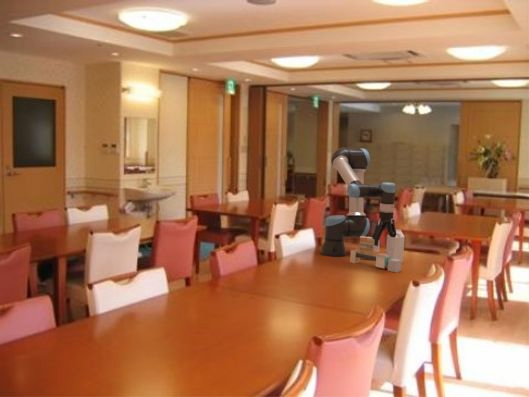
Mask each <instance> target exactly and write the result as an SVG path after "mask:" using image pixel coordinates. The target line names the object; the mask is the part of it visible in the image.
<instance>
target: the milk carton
mask: <svg viewBox="0 0 529 397" xmlns="http://www.w3.org/2000/svg"><path fill="white" fill-rule="evenodd" d="M395 229H396V237H394V240H393V249H389V248H388V239H389V236H390V235H389V233H388V234H387V235H386V245H385V246H386V248H385V254H391V259H398V260H401V263H403V262H404V250H405V249H404V248H405V235H404V233H403V232H402V229H401V228H395ZM393 233H394V232H393Z"/></svg>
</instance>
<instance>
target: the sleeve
mask: <svg viewBox="0 0 529 397" xmlns="http://www.w3.org/2000/svg"><path fill="white" fill-rule="evenodd" d="M375 254H376V253H375ZM375 257H376V261H375V267H376V268H380V269H385V268H386V267H387V268H388V265H386V264H385V260H386V258H387V257H389V258H391V254H386V252H381V253H377V254H376V255H375Z"/></svg>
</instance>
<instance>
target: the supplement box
mask: <svg viewBox="0 0 529 397" xmlns="http://www.w3.org/2000/svg"><path fill="white" fill-rule="evenodd" d="M372 237H373V236H372ZM372 237H371V236H361V237H359V245H358V246H359V248H358V250H360V254H365V255H370V256H374V253H375V251H374V244H375V239H373V238H372ZM360 260H367V261H369V260H368V259H363V258H360Z"/></svg>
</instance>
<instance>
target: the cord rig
mask: <svg viewBox="0 0 529 397" xmlns="http://www.w3.org/2000/svg"><path fill="white" fill-rule="evenodd" d="M349 256H350V258H349V259H350V260H349V263H350V264H353V265H354V264H359V263H360V261H361V259H360V258H363V259H362V260H365V259H368V260H367V261H372V262H376V255H373V256H370V255H365V254H360V250H359V249H354V250H353V249H350V255H349ZM385 264H386V265H388V267H387V272H392V273H399V272H401V269H402V262H401V260H398V259H391V258H389V257H387V258H386V260H385Z"/></svg>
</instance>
